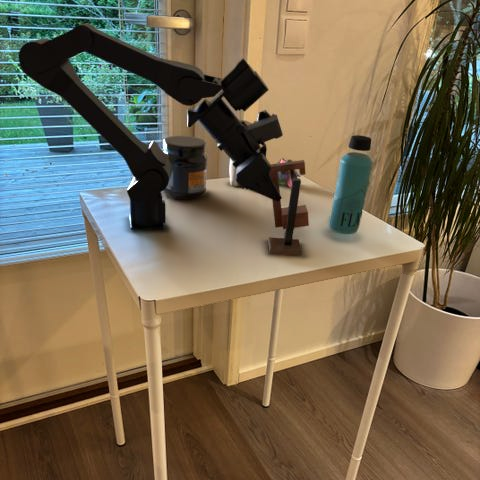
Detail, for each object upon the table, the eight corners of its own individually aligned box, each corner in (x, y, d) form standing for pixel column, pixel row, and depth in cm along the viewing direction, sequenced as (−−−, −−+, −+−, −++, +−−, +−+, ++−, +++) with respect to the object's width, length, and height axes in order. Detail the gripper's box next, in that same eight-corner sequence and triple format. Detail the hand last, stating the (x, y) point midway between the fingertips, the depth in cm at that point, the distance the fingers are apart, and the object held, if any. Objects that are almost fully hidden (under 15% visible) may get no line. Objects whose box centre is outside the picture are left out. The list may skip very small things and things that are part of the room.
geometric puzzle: (309, 181, 128) (300, 150, 127) (289, 184, 124) (279, 153, 124) (292, 190, 134) (283, 161, 133) (272, 194, 130) (263, 164, 130)
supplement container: (215, 195, 120) (218, 143, 113) (179, 204, 114) (180, 149, 107) (187, 182, 126) (188, 132, 119) (152, 190, 120) (151, 137, 113)
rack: (269, 253, 96) (278, 182, 88) (264, 220, 110) (272, 156, 102) (300, 255, 96) (312, 185, 89) (292, 222, 110) (301, 158, 102)
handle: (235, 190, 124) (240, 126, 116) (221, 182, 129) (224, 120, 120) (251, 187, 127) (257, 125, 119) (236, 179, 131) (241, 118, 123)
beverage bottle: (334, 242, 103) (354, 141, 92) (321, 228, 108) (338, 131, 97) (362, 240, 105) (385, 141, 94) (348, 227, 110) (369, 132, 99)
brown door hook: (275, 230, 102) (269, 169, 95) (274, 222, 105) (268, 162, 98) (309, 226, 102) (305, 164, 95) (307, 218, 105) (303, 157, 98)
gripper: (262, 108, 82) (318, 180, 89) (257, 89, 98) (305, 151, 105) (211, 154, 86) (268, 219, 93) (214, 128, 102) (263, 186, 108)
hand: (278, 191), depth 100 cm, fingers open, 9 cm apart
